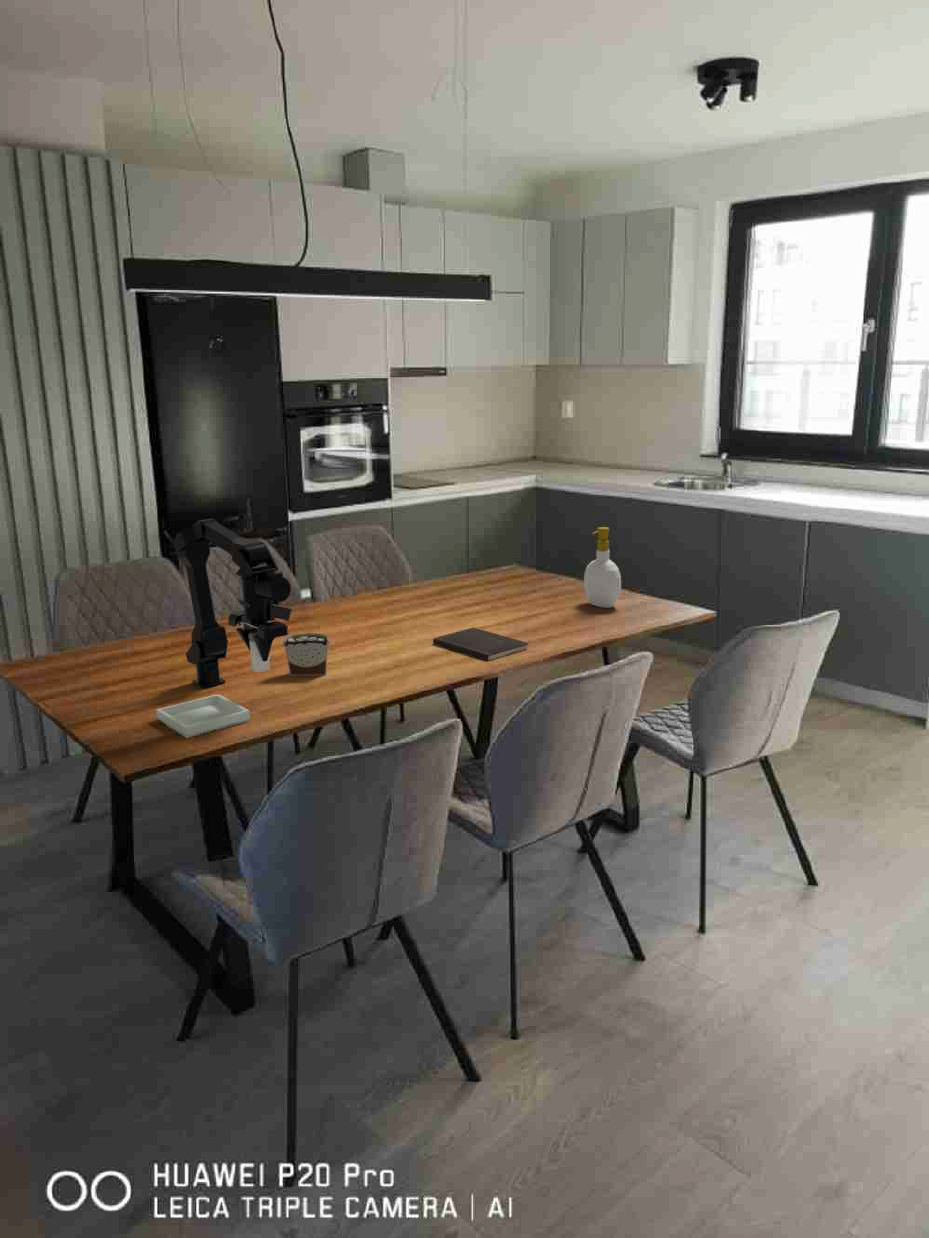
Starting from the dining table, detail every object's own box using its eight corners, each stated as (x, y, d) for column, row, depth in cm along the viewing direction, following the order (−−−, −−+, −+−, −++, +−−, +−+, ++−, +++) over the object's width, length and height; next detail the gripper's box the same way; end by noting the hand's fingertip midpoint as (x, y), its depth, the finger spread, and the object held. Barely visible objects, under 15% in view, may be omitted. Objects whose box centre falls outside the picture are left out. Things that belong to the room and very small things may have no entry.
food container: (333, 667, 260) (331, 631, 257) (331, 674, 254) (329, 638, 251) (287, 668, 260) (285, 633, 257) (284, 676, 254) (282, 639, 251)
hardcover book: (473, 634, 290) (473, 627, 289) (528, 650, 273) (528, 642, 273) (432, 645, 279) (432, 638, 279) (487, 663, 263) (487, 655, 262)
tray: (157, 719, 224) (156, 709, 224) (219, 703, 234) (218, 693, 233) (186, 738, 213) (185, 727, 212) (250, 720, 222) (249, 710, 222)
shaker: (247, 668, 232) (244, 632, 230) (264, 664, 235) (262, 629, 232) (257, 673, 229) (254, 636, 226) (274, 669, 231) (271, 632, 229)
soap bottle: (575, 604, 321) (576, 526, 314) (594, 599, 326) (595, 523, 319) (608, 612, 310) (609, 532, 303) (626, 607, 315) (628, 528, 308)
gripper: (305, 596, 225) (309, 660, 229) (266, 583, 239) (270, 644, 243) (263, 604, 218) (268, 670, 222) (224, 591, 232) (230, 653, 236)
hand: (260, 658), depth 231 cm, fingers closed on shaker, 4 cm apart
